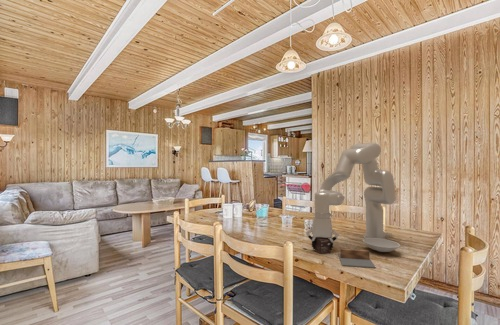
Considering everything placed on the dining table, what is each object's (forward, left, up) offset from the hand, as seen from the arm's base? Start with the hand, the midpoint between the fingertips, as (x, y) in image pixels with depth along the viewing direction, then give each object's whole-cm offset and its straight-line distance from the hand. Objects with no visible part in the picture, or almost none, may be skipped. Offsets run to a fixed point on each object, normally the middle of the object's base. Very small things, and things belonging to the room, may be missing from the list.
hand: (322, 248), depth 133 cm
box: (0, 0, -2) cm, 2 cm away
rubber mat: (-15, +10, -2) cm, 18 cm away
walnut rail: (-15, +8, -2) cm, 17 cm away
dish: (-30, -5, -2) cm, 30 cm away
